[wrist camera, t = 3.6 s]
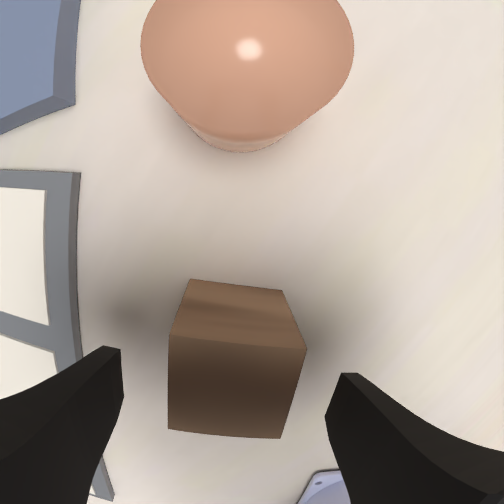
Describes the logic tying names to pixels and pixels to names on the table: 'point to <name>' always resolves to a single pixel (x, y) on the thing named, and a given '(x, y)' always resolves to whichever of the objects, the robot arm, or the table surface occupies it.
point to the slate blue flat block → (36, 59)
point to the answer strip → (40, 284)
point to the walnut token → (233, 361)
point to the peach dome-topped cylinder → (246, 64)
